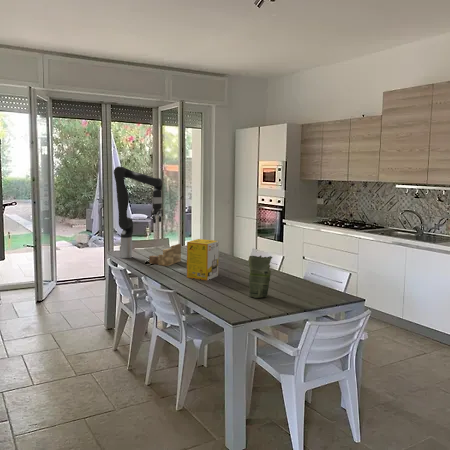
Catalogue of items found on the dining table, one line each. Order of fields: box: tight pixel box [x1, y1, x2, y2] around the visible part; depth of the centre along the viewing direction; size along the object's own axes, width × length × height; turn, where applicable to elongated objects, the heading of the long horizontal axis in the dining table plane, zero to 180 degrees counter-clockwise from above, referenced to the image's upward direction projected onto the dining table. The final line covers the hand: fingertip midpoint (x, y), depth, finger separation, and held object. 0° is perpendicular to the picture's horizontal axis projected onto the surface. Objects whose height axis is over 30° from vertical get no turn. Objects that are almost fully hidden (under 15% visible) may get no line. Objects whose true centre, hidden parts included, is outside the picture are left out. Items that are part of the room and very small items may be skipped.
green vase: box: [248, 255, 273, 299], centre depth 275 cm, size 11×12×25 cm
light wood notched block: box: [157, 243, 182, 267], centre depth 364 cm, size 8×21×14 cm, turn 156°
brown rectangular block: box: [148, 255, 159, 265], centre depth 362 cm, size 13×4×6 cm, turn 67°
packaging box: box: [186, 238, 220, 281], centre depth 321 cm, size 16×16×25 cm
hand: (157, 222), depth 378 cm, fingers open, 8 cm apart
